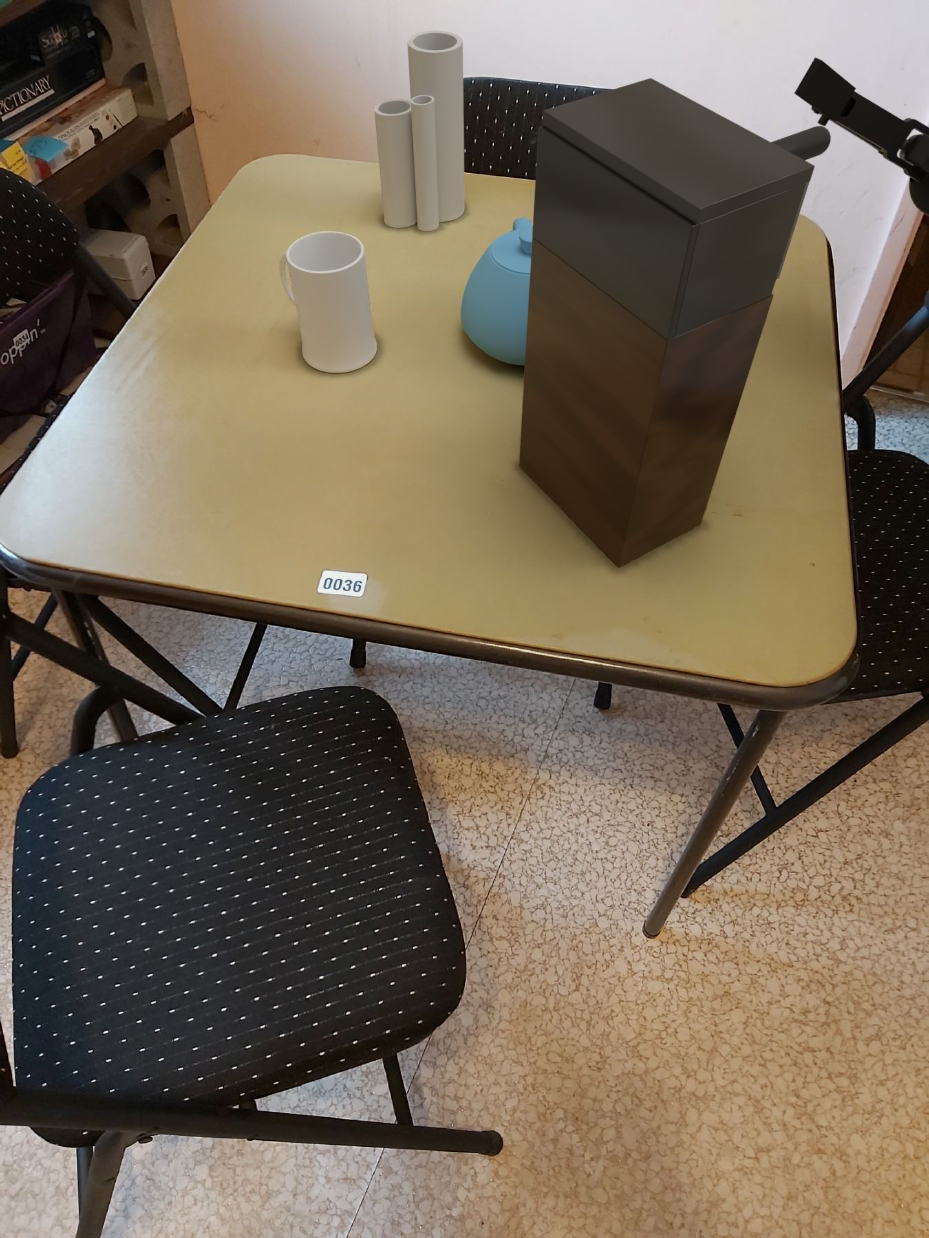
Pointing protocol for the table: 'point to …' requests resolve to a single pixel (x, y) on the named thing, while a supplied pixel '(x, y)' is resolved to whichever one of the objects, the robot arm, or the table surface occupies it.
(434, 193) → the vase
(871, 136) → the robot arm
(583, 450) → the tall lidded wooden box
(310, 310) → the mug
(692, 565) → the table surface
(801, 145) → the top drawer
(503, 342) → the teapot
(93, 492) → the table surface
